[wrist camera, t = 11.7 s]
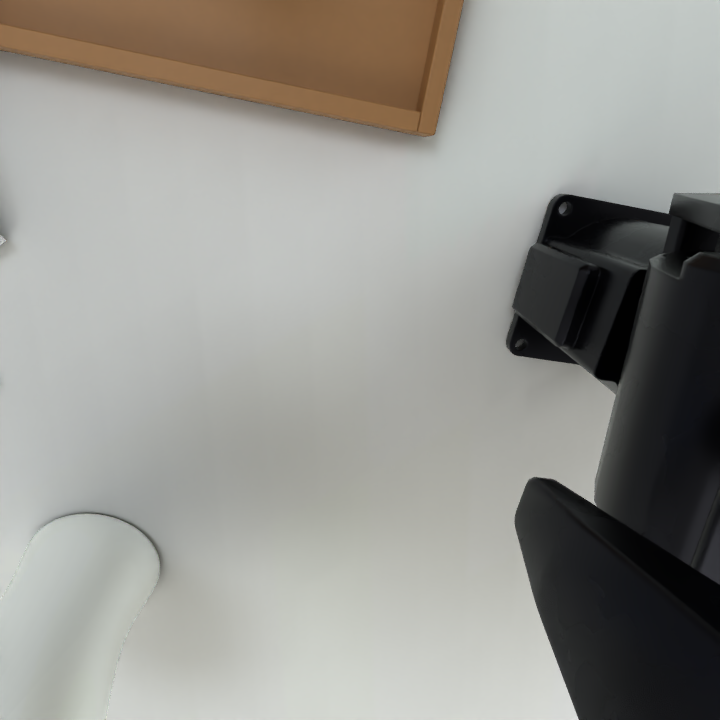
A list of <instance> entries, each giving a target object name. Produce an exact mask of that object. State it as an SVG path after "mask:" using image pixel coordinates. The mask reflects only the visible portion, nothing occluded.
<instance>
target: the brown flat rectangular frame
mask: <svg viewBox="0 0 720 720" xmlns="http://www.w3.org/2000/svg"><path fill="white" fill-rule="evenodd" d="M463 2H464V0H0V50H2V51H7V52H12V53H17V54H22V55H27V56H32V57H36V58H41V59H46V60H51V61H56V62H61V63H66V64H71V65H76V66H80V67H85V68H90V69H95V70H100V71H105V72H110V73H115V74H119V75H124V76H129V77H134V78H139V79H144V80H149V81H154V82H159V83H163V84H168V85H173V86H178V87H183V88H188V89H193V90H198V91H203V92H207V93H212V94H217V95H222V96H227V97H232V98H237V99H242V100H247V101H251V102H256V103H261V104H266V105H271V106H276V107H281V108H286V109H291V110H295V111H300V112H305V113H310V114H315V115H320V116H325V117H330V118H334V119H339V120H344V121H349V122H354V123H359V124H364V125H369V126H374V127H378V128H383V129H388V130H393V131H398V132H403V133H408V134H413V135H418V136H422V137H426V136H432V135H434V134H435V131H436V127H437V122H438V117H439V113H440V108H441V104H442V99H443V94H444V90H445V85H446V80H447V76H448V71H449V67H450V62H451V57H452V53H453V48H454V44H455V39H456V34H457V30H458V25H459V20H460V16H461V11H462V7H463Z"/></svg>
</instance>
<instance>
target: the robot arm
mask: <svg viewBox="0 0 720 720" xmlns="http://www.w3.org/2000/svg"><path fill="white" fill-rule="evenodd" d="M563 202H566V203H567V210H566V211H565V212H564V213H563V214H560V213H559V207H560V205H561V204H562V203H563ZM513 309H514V311H515V314H514V317H513V321H512V324H511V327H510V330H509V333H508V337H507V340H506V345H507V348H508V349H509V350H510V351H511V352H512V353H513V354H514V355H517V356H523V357H530V358H537V359H544V360H551V361H558V362H565V363H572V364H579V365H581V366H582V367H583V368H584V369H586V370H587V371H588V372H589V373H591V374H592V375H593V376H594V377H595V378H597V379H598V380H599V381H600V382H601V383H603V384H604V385H605V386H606V387H608V388H609V389H610V390H611V391H612V392H614V393H615V394H616V397H615V402H614V406H613V410H612V414H611V418H610V422H609V426H608V430H607V434H606V438H605V442H604V446H603V450H602V455H601V459H600V463H599V467H598V471H597V475H596V479H595V496H594V501H595V503H596V505H597V506H595V505H593V504H592V503H590V502H589V501H587V500H586V499H584V498H582V497H581V496H579V495H578V494H576V493H574V492H573V491H571V490H570V489H568V488H567V487H565V486H563V485H562V484H560V483H559V482H557V481H555V480H553V479H547V478H538V477H533V478H531V479H529V481H528V482H527V484H526V486H525V489H524V492H523V494H522V497H521V500H520V502H519V505H518V508H517V510H516V514H515V527H516V532H517V535H518V539H519V543H520V547H521V550H522V554H523V558H524V562H525V566H526V569H527V573H528V577H529V581H530V585H531V588H532V592H533V596H534V599H535V602H536V606H537V609H538V611H539V614H540V617H541V620H542V623H543V625H544V628H545V631H546V633H547V636H548V639H549V641H550V644H551V647H552V649H553V652H554V655H555V657H556V660H557V663H558V665H559V668H560V671H561V673H562V676H563V679H564V681H565V684H566V687H567V689H568V692H569V695H570V697H571V700H572V703H573V705H574V708H575V711H576V713H577V716H578V719H579V720H720V194H712V193H674V195H673V199H672V203H671V207H670V211H669V214H666V213H661V212H656V211H650V210H645V209H640V208H635V207H630V206H625V205H620V204H615V203H610V202H605V201H599V200H594V199H589V198H584V197H579V196H574V195H569V194H559V195H557V196H555V197H554V198H553V199H552V200H551V201H550V203H549V205H548V208H547V212H546V215H545V218H544V221H543V224H542V228H541V231H540V234H539V237H538V240H537V243H536V244H535V245H533V246H532V247H531V248H530V250H529V253H528V257H527V260H526V263H525V266H524V270H523V273H522V276H521V279H520V283H519V286H518V289H517V292H516V296H515V299H514V302H513ZM519 339H524V341H523V344H522V345H521V346H519V347H515V344H516V342H517V341H518V340H519Z"/></svg>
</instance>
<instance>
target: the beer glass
mask: <svg viewBox="0 0 720 720" xmlns="http://www.w3.org/2000/svg"><path fill="white" fill-rule="evenodd" d="M159 575H160V560H159V556H158V553H157V551H156V549H155V547H154V546H153V544H152V543H151V541H150V540H149V539H148V538H147V537H146V536H145V535H144V534H143V533H142V532H140V531H139V530H138V529H136V528H135V527H133V526H132V525H130V524H128V523H126V522H124V521H122V520H119V519H116V518H113V517H110V516H105V515H99V514H74V515H68V516H64V517H61V518H58V519H56V520H53V521H51V522H50V523H48V524H46V525H45V526H44V527H42V528H41V529H40V530H39V531H38V532H37V533H36V534H35V535H34V536H33V538H32V539H31V541H30V542H29V544H28V546H27V548H26V550H25V552H24V554H23V556H22V558H21V560H20V563H19V565H18V567H17V569H16V572H15V574H14V576H13V578H12V580H11V582H10V584H9V586H8V588H7V589H6V591H5V592H4V594H3V595H2V597H1V598H0V720H106V717H107V712H108V707H109V702H110V697H111V692H112V687H113V682H114V678H115V674H116V669H117V665H118V660H119V657H120V654H121V651H122V648H123V645H124V642H125V640H126V637H127V635H128V633H129V631H130V628H131V626H132V625H133V623H134V621H135V619H136V617H137V616H138V614H139V613H140V611H141V609H142V608H143V606H144V605H145V603H146V602H147V600H148V598H149V597H150V595H151V593H152V592H153V590H154V588H155V586H156V584H157V582H158V579H159Z"/></svg>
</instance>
